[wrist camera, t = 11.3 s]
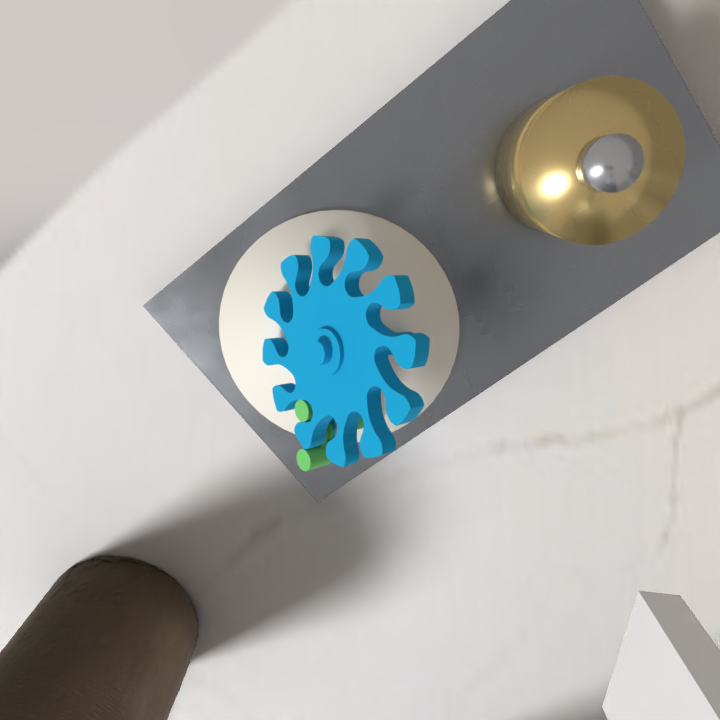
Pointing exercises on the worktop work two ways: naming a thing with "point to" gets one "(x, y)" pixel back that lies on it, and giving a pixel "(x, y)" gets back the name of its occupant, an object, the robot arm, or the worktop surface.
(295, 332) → the gear
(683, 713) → the robot arm
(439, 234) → the carrier plate
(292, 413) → the disc
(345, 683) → the worktop surface
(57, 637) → the pillar candle
